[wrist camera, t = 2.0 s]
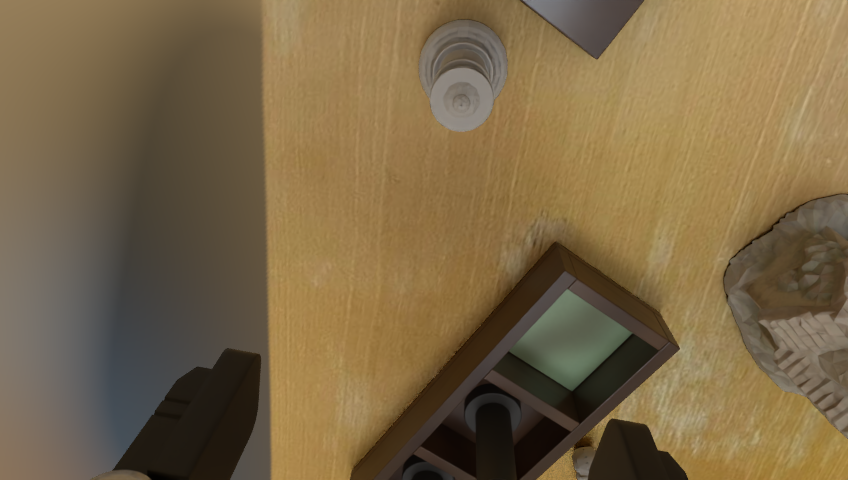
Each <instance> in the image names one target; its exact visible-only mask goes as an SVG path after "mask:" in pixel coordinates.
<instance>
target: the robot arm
mask: <svg viewBox="0 0 848 480" xmlns="http://www.w3.org/2000/svg"><path fill="white" fill-rule="evenodd" d="M260 368H261V356H260V354H257V353H251V352H246V351H240V350H235V349H229V348H227V349H225V350H224V352H223V353H222V354H221V356H220V358H219V359H218V361H217V362H216V364H215V365H214V367H213V369H208V368H202V367H196V368H194V369H193V370H191V371H190V372H188V373H187V374H185V375H184V376H182V377H181V378H179V379H178V380H177V381H176V383H175V384H174V385H173V387H172V388H171V389H170V391H169V392H168V394H167V395H166V396H165V400H164V401H162V402H161V403H160V405H159V406H158V408H157V409H156V410H155V413H154V415H152V416H151V417H150V419H149V420H148V422H147V423H146V425H145V426H144V427H143V429H142V430H141V432H140V433H139V434H138V436H137V437H136V438H135V440H134V441H133V443H132V444H131V445H130V447H129V448H128V450H127V451H126V453H125V454H124V455H123V457H122V458H121V459H120V461H119V462H118V464H117V465H116V466H115V468H114V469H113V470H112V471H110V472H106V473H104V474H101V475H98V476H96V477H94V478H92V479H90V480H230V478H231V476H232V474H233V472H234V470H235V468H236V465H237V463H238V461H239V459H240V457H241V455H242V453H243V450H244V448H245V446H246V444H247V442H248V440H249V438H250V435H251V433H252V430H253V427H254V424H255V421H256V416H257V410H258V400H259V385H260ZM588 480H688V478H687V475H686V473H685V471H684V470H683V469H682V468H681V467H680V466H679V464H678V463H677V462H676V461H675V460H674V459H673V458H672V456H671V455H670V454H669V453H668V452H664V451H659V450H657V447H656V445H655V442H654V440H653V437H652V435H651V432H650V430H649V428H648V427H647V426H646V425H645V424H640V423H635V422H629V421H624V420H618V419H611V420H609V422H608V423H607V425H606V428H605V430H604V433H603V435H602V438H601V440H600V443H599V446H598V448H597V451H596V453H595V456H594V458H593V461H592V463H591V466H590V469H589V474H588Z"/></svg>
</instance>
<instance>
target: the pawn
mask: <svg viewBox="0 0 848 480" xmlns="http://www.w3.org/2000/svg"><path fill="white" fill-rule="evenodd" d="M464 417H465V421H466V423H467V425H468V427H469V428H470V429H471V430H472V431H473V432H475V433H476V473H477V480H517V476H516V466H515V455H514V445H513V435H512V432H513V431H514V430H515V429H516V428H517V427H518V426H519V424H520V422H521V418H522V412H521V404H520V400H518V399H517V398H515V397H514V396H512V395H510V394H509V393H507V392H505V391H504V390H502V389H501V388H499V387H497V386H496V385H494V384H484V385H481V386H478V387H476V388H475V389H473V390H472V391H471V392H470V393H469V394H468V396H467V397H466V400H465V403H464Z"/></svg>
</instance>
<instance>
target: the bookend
mask: <svg viewBox="0 0 848 480" xmlns="http://www.w3.org/2000/svg"><path fill="white" fill-rule="evenodd" d="M520 1H521V2H523V3H524V4H525V5H526V6H528V7H529V8H530V9H532V10H533V11H534V12H535V13H537V14H538V15H539V16H541V17H542V18H543V19H544V20H546V21H547V22H548V23H550V24H551V25H552V26H553V27H555V28H556V29H557V30H559V31H560V32H561V33H563V34H564V35H565V36H566V37H568V38H569V39H570V40H572V41H573V42H574V43H575V44H577V45H578V46H579V47H581V48H582V49H583V50H584V51H586V52H587V53H588V54H590V55H591V56H592V57H594V58H595V59H598V58H599V57H600V56H601V54H602V53H603V52H604V51H605V49H606V48H607V47H608V46H609V44H610V43H611V42H612V40H613V39H614V38H615V37H616V35H617V34H618V33H619V32H620V30H621V29H622V28H623V27H624V25H625V24H626V23H627V22H628V20H629V19H630V18H631V17H632V15H633V14H634V13H635V12H636V10H637V9H638V8H639V7H640V5H641V4H642V3H643V2H644V0H520Z"/></svg>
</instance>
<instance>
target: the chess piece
mask: <svg viewBox="0 0 848 480" xmlns="http://www.w3.org/2000/svg"><path fill="white" fill-rule="evenodd" d="M507 62H508V60H507V56H506V51H505V48H504V46H503V44H502V42H501V40H500V38H499V37H498V36H497V35H496V34H495V33H494V31H493V30H492V29H491V28H489V27H487V26H486V25H484V24H482V23H481V22H477V21H473V20H469V19H467V20H455V21H451V22H448V23H445V24H444V25H442V26H441V27H439V28H438V29H436V30H435V31H434V32H433V33H432V34H431V36H430V37H429V38H428V39H427V41H426V43H425V45H424V47H423V49H422V51H421V55H420V60H419V77H420V81H421V84H422V87H423V89H424V91H425V93H426V94H427V96H428V97H429V98H430V107H431V110H432V113H433V115H434V116H435V118H436V120H437V121H438V122H439V123H440V124H441V125H442V126H444V127H446V128H448V129H450V130H454V131H469V130H473V129H475V128H477V127H478V126H480V125H481V124H483V123H484V122H485V121H486V120H487V118H488V116H489V115H490V113H491V111H492V107H493V104H494V100H495V99H496V98H497V97H498V95H499V93H500V92H501V90H502V88H503V87H504V84H505V80H506V77H507Z"/></svg>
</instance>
